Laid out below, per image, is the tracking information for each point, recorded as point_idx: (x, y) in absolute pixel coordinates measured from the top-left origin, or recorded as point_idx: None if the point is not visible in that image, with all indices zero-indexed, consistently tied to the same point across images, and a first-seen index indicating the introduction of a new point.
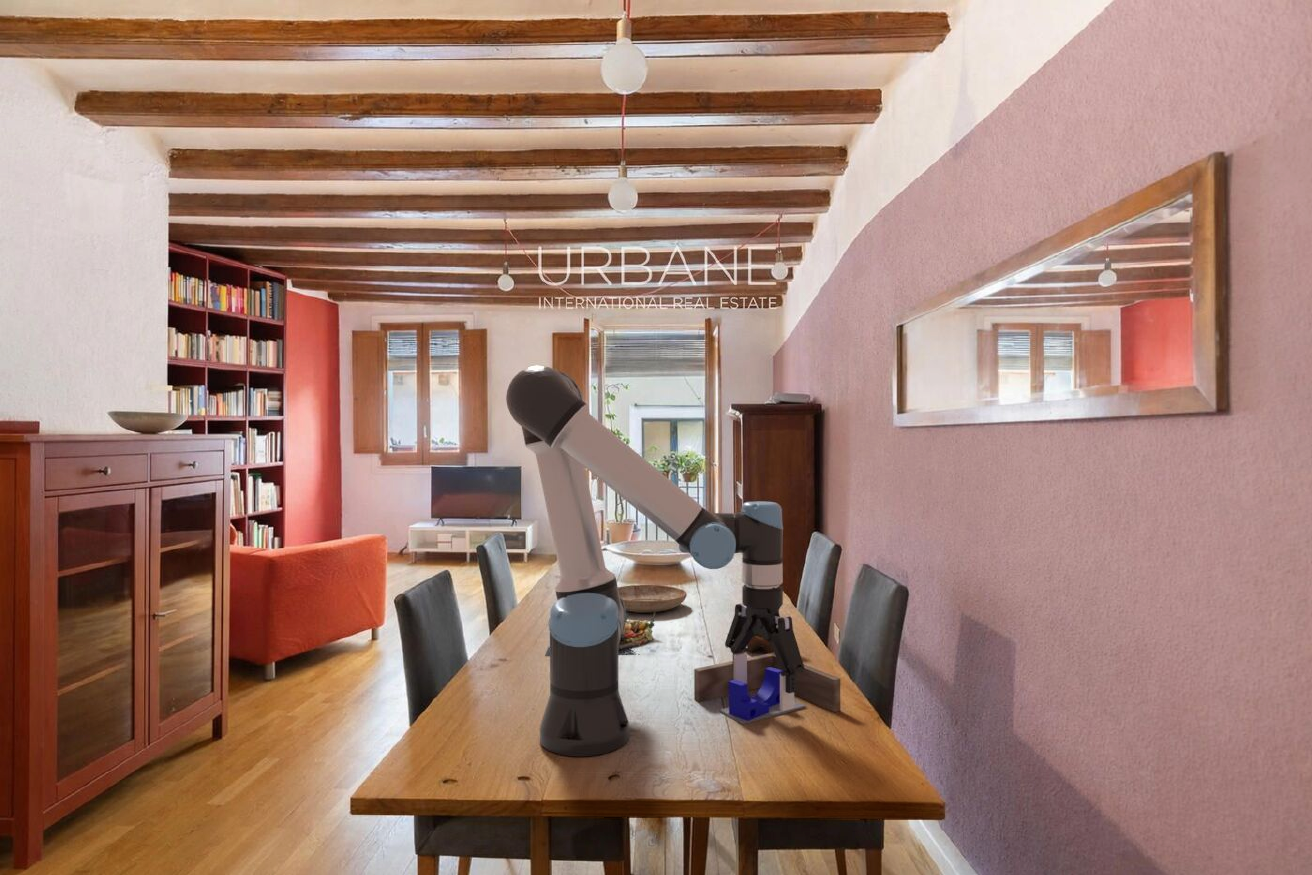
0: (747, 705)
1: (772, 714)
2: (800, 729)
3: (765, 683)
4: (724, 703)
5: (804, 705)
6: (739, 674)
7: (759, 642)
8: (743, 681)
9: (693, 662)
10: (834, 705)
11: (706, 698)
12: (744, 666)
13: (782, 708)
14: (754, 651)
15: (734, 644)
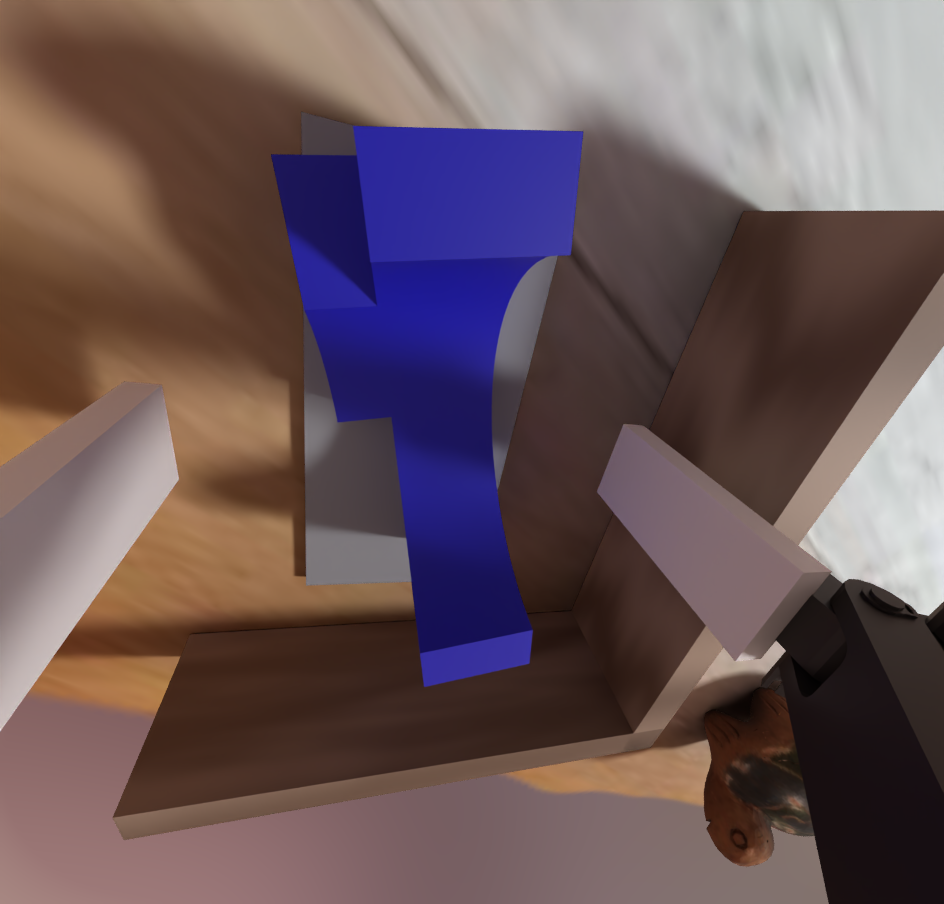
0: (278, 155)
1: (305, 395)
2: (25, 377)
3: (486, 546)
4: (615, 319)
5: (309, 581)
6: (662, 492)
7: (761, 733)
8: (621, 489)
9: (903, 527)
10: (179, 662)
11: (724, 274)
12: (674, 559)
13: (117, 390)
14: (753, 694)
15: (938, 669)
